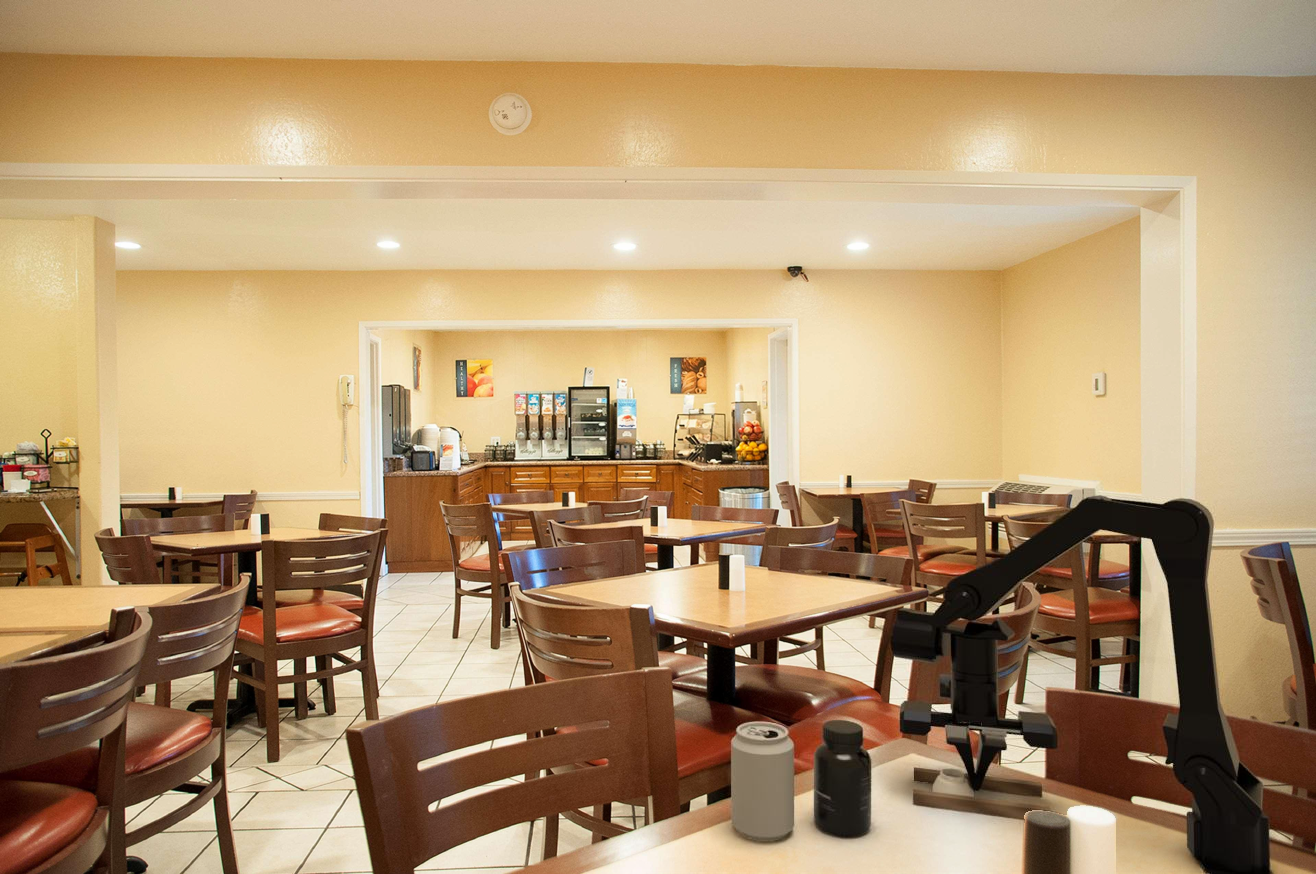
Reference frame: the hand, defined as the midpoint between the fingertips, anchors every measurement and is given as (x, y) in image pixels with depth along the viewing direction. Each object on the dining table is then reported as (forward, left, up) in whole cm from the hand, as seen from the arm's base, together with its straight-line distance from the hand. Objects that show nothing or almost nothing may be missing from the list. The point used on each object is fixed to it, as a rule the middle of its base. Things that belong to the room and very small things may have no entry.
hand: (975, 789), depth 102 cm
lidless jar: (+3, 0, -1) cm, 3 cm away
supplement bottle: (+16, +13, -1) cm, 20 cm away
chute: (0, 0, -1) cm, 1 cm away
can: (+25, +17, -1) cm, 30 cm away
